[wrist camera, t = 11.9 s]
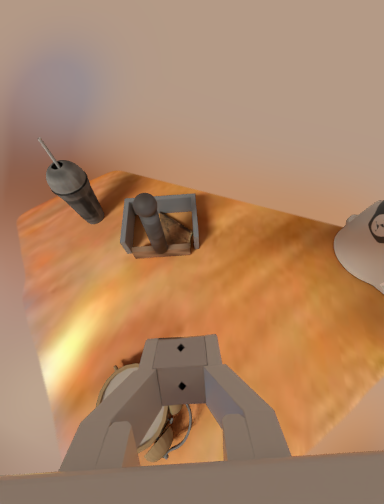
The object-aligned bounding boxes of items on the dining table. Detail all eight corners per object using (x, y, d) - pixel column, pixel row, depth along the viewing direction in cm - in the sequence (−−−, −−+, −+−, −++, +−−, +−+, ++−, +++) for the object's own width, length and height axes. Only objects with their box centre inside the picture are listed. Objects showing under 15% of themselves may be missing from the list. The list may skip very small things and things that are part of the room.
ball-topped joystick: (189, 245, 47) (183, 184, 31) (190, 259, 45) (184, 204, 29) (136, 248, 47) (102, 190, 31) (135, 263, 45) (98, 210, 29)
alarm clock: (115, 352, 35) (198, 387, 30) (128, 355, 39) (203, 385, 35) (79, 433, 31) (171, 490, 26) (99, 426, 35) (181, 474, 30)
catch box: (195, 207, 52) (195, 193, 47) (199, 248, 47) (198, 236, 42) (131, 212, 52) (124, 198, 48) (127, 253, 47) (120, 242, 42)
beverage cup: (83, 233, 50) (18, 163, 32) (77, 211, 53) (14, 136, 35) (113, 221, 51) (66, 148, 33) (105, 201, 54) (58, 123, 36)
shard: (160, 214, 52) (159, 210, 50) (191, 212, 52) (191, 207, 50) (160, 253, 47) (159, 249, 45) (194, 250, 47) (194, 247, 45)
